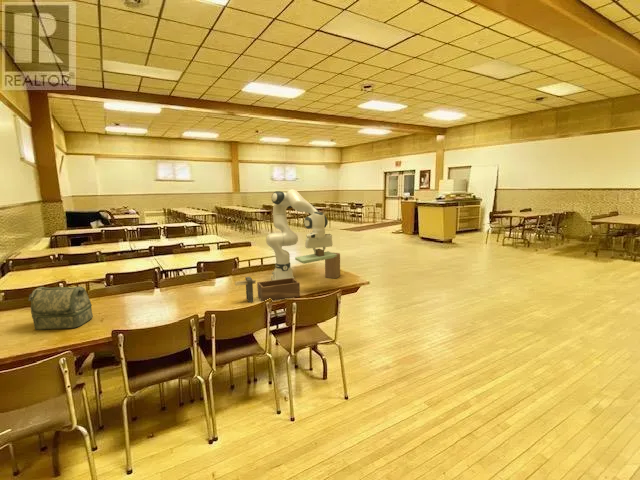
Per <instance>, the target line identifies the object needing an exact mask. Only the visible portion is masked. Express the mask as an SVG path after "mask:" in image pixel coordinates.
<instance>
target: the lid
mask: <svg viewBox="0 0 640 480" xmlns="http://www.w3.org/2000/svg"><path fill="white" fill-rule="evenodd" d="M315 251H317V254H314V253H312V254H306V255H301V256H296V257H294V260H295V261H298V262H299V263H301V264H305V265H306V264H309V263H315V262H319V261H320V262H321V261H325V260H326V259H331V258H334V257H337V254H334V253H335V252H331V251H328V250H327V251H325V250H323V248H322V249H321V248H316V249H315Z"/></svg>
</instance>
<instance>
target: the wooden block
mask: <svg viewBox="0 0 640 480" xmlns="http://www.w3.org/2000/svg"><path fill="white" fill-rule="evenodd" d="M333 253H334V254H337V257H334V258H331V259H326V260H324V277H325V278H326V279H327V278H328V279H334V280H335V279H338V278H339V277H341V253H340V252H333Z"/></svg>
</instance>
